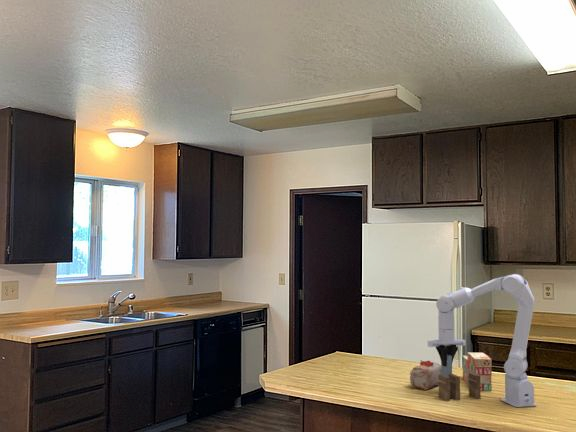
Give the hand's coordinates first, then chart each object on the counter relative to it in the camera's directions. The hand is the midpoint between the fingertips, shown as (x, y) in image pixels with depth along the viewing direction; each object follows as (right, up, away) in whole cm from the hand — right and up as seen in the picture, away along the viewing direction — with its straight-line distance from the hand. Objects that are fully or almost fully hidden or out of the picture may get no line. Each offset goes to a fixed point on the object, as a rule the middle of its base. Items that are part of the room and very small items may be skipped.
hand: (446, 365), depth 211 cm
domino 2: (+1, -10, -7) cm, 12 cm away
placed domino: (0, -4, 0) cm, 4 cm away
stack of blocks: (+15, -11, +13) cm, 23 cm away
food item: (-5, -11, +9) cm, 15 cm away
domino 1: (-3, -10, -8) cm, 13 cm away
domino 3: (+8, -10, -6) cm, 14 cm away
